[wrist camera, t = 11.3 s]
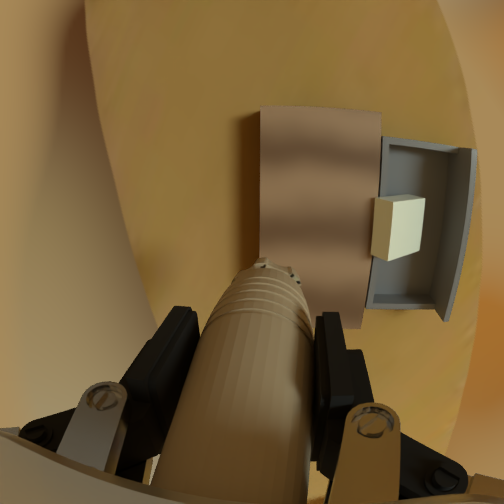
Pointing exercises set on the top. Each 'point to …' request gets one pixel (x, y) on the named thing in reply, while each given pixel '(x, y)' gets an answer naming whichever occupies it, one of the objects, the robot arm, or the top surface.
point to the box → (426, 225)
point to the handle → (247, 397)
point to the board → (321, 202)
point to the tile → (397, 226)
